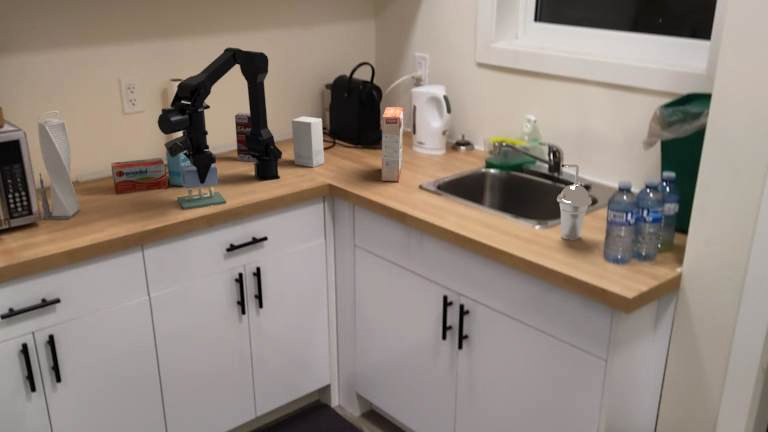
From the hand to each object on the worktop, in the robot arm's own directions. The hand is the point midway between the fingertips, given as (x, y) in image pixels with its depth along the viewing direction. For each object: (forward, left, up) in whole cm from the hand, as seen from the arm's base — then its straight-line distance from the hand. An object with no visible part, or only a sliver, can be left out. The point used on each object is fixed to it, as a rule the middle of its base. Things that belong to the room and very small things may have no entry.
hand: (200, 180), depth 202 cm
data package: (0, -21, -7) cm, 22 cm away
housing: (0, 0, -1) cm, 1 cm away
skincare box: (-41, -22, -7) cm, 47 cm away
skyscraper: (+36, -6, -7) cm, 37 cm away
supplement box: (-25, -35, -7) cm, 43 cm away
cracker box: (-61, +1, -7) cm, 61 cm away
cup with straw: (-79, +66, -7) cm, 103 cm away
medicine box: (+14, -20, -7) cm, 26 cm away
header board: (0, 0, -6) cm, 6 cm away
